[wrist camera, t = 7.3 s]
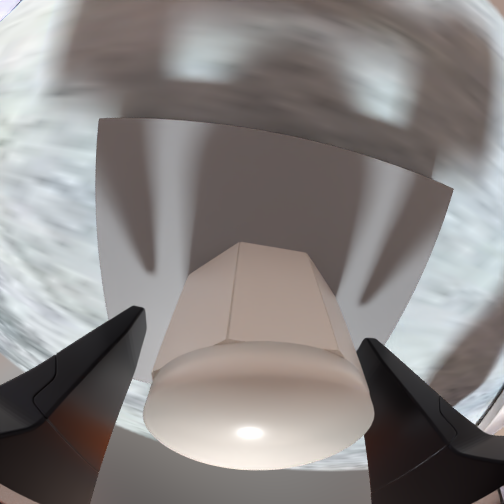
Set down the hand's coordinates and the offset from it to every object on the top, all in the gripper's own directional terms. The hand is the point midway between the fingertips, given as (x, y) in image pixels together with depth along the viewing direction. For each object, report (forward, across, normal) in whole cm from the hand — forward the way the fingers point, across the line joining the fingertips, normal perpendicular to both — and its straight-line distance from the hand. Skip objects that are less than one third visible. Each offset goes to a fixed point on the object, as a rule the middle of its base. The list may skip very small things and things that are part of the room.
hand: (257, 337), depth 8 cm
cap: (+1, 0, 0) cm, 1 cm away
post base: (+3, 0, 0) cm, 3 cm away
